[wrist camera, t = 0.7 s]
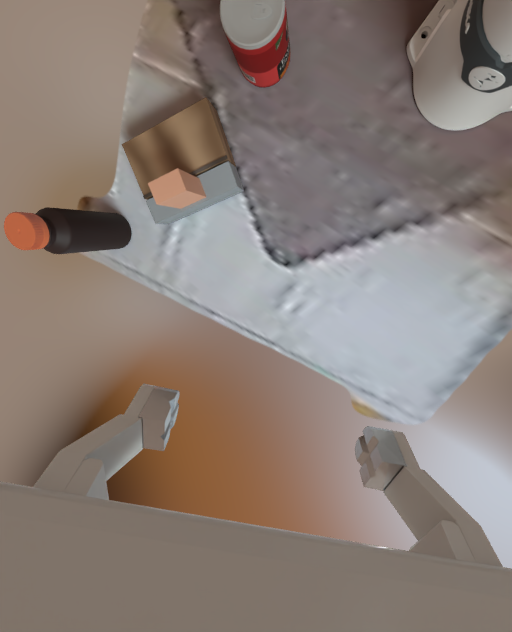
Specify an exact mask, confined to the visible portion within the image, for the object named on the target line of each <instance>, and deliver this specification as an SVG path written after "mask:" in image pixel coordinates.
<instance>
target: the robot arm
mask: <svg viewBox="0 0 512 632" xmlns="http://www.w3.org/2000/svg"><path fill="white" fill-rule="evenodd" d="M422 34H424V35H425V36H426V38H425V39H423V38H421V35H422ZM407 56H408V59H409V61H410V64H411V66H412V68H413V91H414V97H415V101H416V104H417V106H418V108H419V110H420V112H421V113H422V115H423V116H424V117H425V118H426V119H427V120H428V121H429V122H430V123H432V124H433V125H435V126H437V127H440V128H443V129H447V130H465V129H469V128H473V127H476V126H478V125H481V124H483V123H485V122H487V121H488V120H490V119H492V118H493V117H495V116H497V115H498V114H500V113H503V112H508V111H512V0H439V1H438V2H437V4H436V5H435V6H434V8H433V9H432V11H431V12H430V13H429V15H428V16H427V17H426V19H425V20H424V22H423V23H422V24H421V26H420V27H419V28H418V30H417V31H416V33H415V34H414V35H413V37H412V38H411V40H410V41H409V43H408V45H407ZM178 399H179V391H177V390H172V389H167V388H162V387H158V386H152V385H148V384H143V385H142V386H141V387H140V389H139V390H138V392H137V394H136V395H135V397H134V399H133V400H132V402H131V404H130V406H129V407H128V409H127V411H126V412H125V414H124V415H121V414H120V415H118V416H117V417H115V418H113V419H112V420H110V421H108V422H107V423H105V424H103V425H102V426H100V427H98V428H97V429H95V430H94V431H92V432H90V433H89V434H87V435H85V436H84V437H82V438H81V439H79V440H77V441H75V442H74V443H72V444H70V445H69V446H67V447H65V448H64V449H62V450H61V451H59V452H58V454H57V455H56V456H55V458H54V459H53V461H52V462H51V463H50V465H49V466H48V467H47V469H46V470H45V471H44V473H43V474H42V476H41V477H40V478H39V480H38V481H37V482H36V484H35V485H34V486H33V487H28V486H23V485H18V484H12V483H6V482H0V632H512V569H510V568H505V567H503V566H502V564H501V563H500V561H499V559H498V557H497V555H496V553H495V552H494V550H493V548H492V546H491V545H490V542H489V541H488V539H487V537H486V535H485V533H484V531H483V530H482V528H481V526H480V525H479V524H478V523H477V522H476V521H475V520H474V519H473V518H472V517H471V516H470V515H469V514H468V513H467V512H466V511H465V510H464V509H463V508H462V507H461V506H460V505H459V504H458V503H457V502H456V501H455V500H454V499H453V498H452V497H451V496H450V495H449V494H448V493H447V492H446V491H445V490H444V489H443V488H442V487H441V486H440V485H439V484H438V483H437V482H436V481H435V480H434V479H432V477H431V476H429V475H428V474H427V473H426V472H425V471H424V470H421V469H420V467H419V465H418V463H417V461H416V459H415V456H414V454H413V452H412V450H411V448H410V446H409V443H408V441H407V439H406V437H405V435H404V434H403V433H402V432H397V431H391V430H386V429H381V428H375V427H369V426H367V427H365V429H364V430H363V434H364V435H363V436H361V437H359V438H358V440H357V442H356V446H355V455H356V459H357V461H358V462H359V463H360V465H361V466H362V467H361V469H360V474H361V478H362V482H363V485H364V487H367V488H372V489H377V490H381V491H384V493H385V495H386V496H387V498H388V499H389V501H390V502H391V503H392V505H393V506H394V507H395V509H396V510H397V512H398V513H399V515H400V516H401V517H402V519H403V520H404V521H405V523H406V524H407V526H408V527H409V529H410V530H411V531H412V533H413V534H414V536H415V537H416V539H417V540H418V542H417V543H416V544H414V545H413V546H412V547H411V548H410V550H409V551H405V550H399V549H393V548H387V547H381V546H375V545H369V544H363V543H357V542H352V541H346V540H340V539H334V538H328V537H323V536H317V535H311V534H305V533H299V532H293V531H287V530H282V529H276V528H270V527H264V526H258V525H252V524H246V523H241V522H235V521H229V520H223V519H217V518H211V517H205V516H199V515H193V514H188V513H182V512H176V511H170V510H164V509H158V508H152V507H147V506H141V505H135V504H129V503H123V502H117V501H111V500H109V498H108V491H107V484H106V481H107V480H108V479H109V478H110V477H111V476H112V475H114V474H115V473H116V472H117V471H118V470H119V469H120V468H121V467H123V466H124V465H125V464H126V463H127V462H128V461H130V460H131V459H132V458H133V457H134V456H135V455H136V454H138V453H139V452H140V451H141V450H142V449H143V448H147V449H154V450H160V451H164V449H165V447H166V444H167V442H168V439H169V436H170V429H171V428H172V427H173V426H174V423H175V421H176V417H177V414H178V407H179V404H178V403H177V401H178Z"/></svg>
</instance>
